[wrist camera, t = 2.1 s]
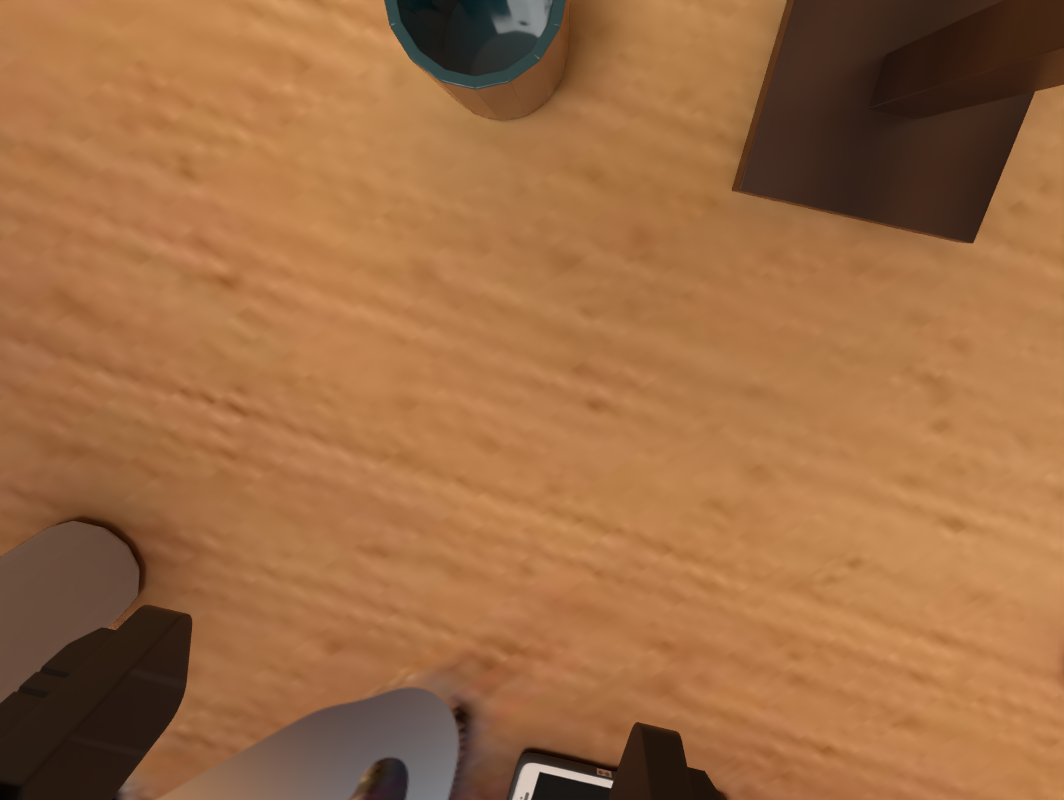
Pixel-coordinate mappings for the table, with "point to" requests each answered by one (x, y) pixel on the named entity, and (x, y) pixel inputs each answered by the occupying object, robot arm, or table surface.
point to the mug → (487, 49)
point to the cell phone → (559, 780)
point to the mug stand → (899, 107)
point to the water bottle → (59, 594)
